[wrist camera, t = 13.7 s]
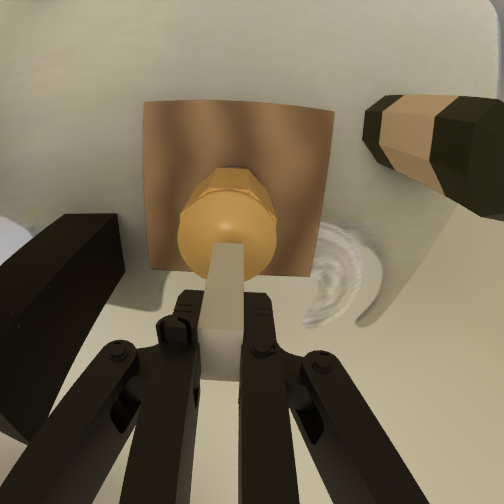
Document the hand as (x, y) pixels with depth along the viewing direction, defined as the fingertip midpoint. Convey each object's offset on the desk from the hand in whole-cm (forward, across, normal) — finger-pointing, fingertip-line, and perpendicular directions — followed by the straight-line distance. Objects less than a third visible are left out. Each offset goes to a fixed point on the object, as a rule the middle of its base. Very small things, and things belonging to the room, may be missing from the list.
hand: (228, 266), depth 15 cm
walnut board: (+16, 0, 0) cm, 16 cm away
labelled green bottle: (+16, +17, +8) cm, 25 cm away
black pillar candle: (+16, -17, -7) cm, 25 cm away
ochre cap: (+11, 0, 0) cm, 11 cm away
